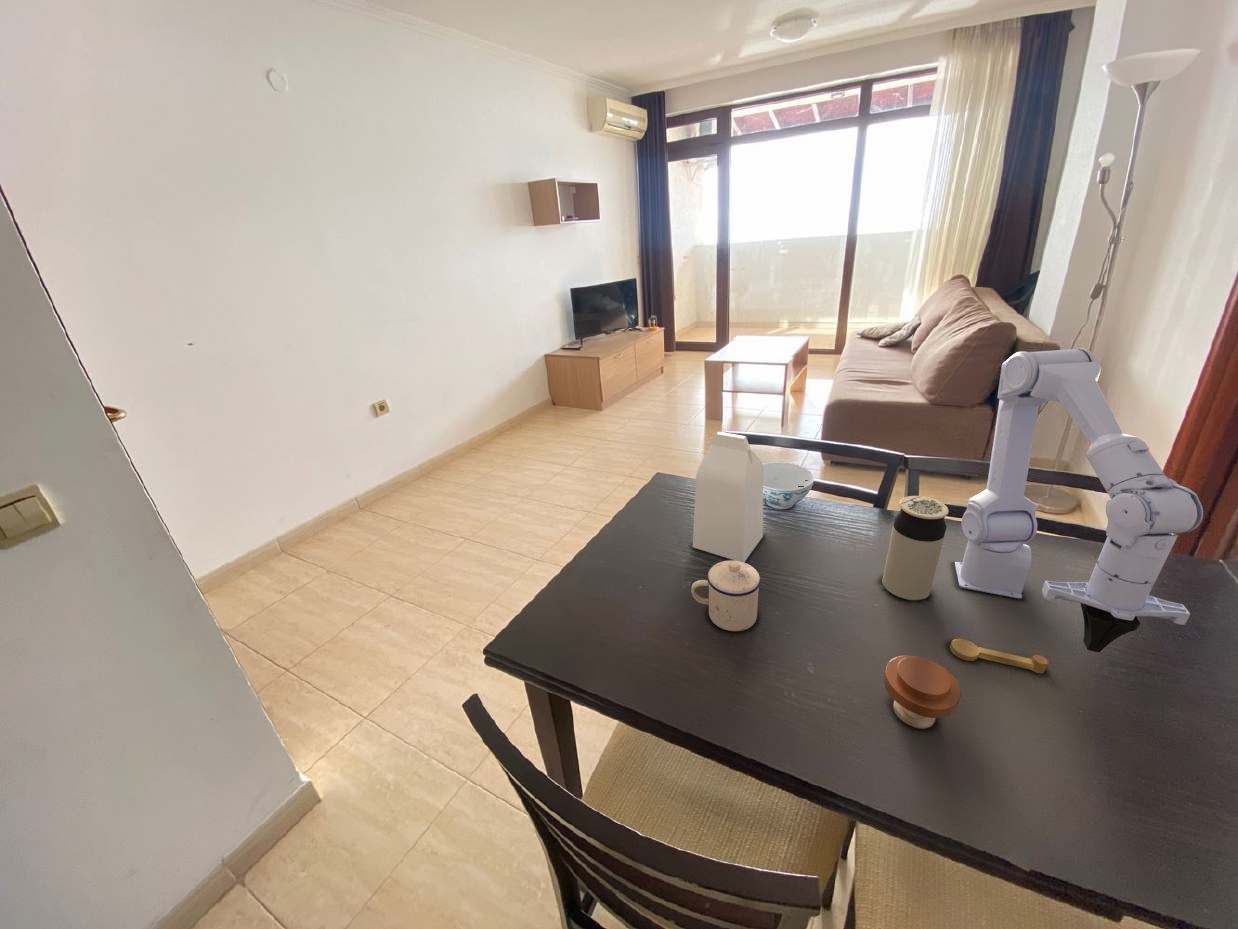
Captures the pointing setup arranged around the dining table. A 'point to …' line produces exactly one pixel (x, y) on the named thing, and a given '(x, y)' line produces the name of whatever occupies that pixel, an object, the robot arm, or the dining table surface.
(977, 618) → the dining table surface
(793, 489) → the chinaware
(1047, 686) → the dining table surface
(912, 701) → the mushroom
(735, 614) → the teacup with lid
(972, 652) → the spoon
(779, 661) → the dining table surface
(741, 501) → the milk
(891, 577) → the travel mug
